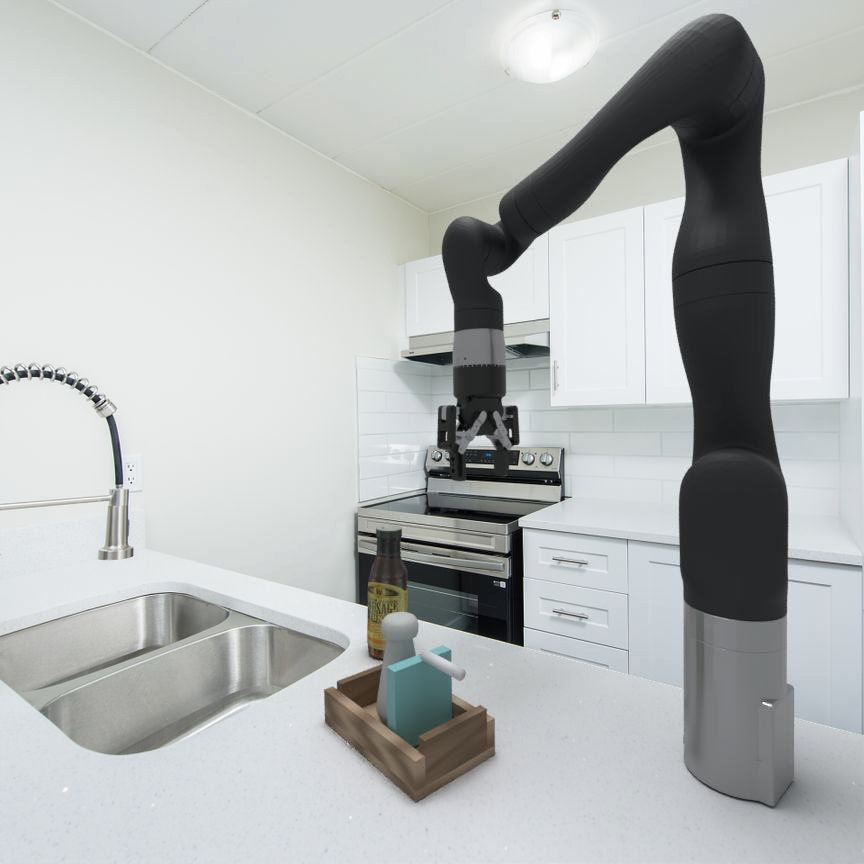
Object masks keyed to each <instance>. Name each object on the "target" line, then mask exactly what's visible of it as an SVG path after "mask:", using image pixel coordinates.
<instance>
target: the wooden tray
mask: <svg viewBox="0 0 864 864" xmlns="http://www.w3.org/2000/svg"><path fill="white" fill-rule="evenodd" d="M382 665H383V663H382V664H379V665H376V666H373V667H371V668H368V669H365V670H363V671H360V672H358V673H355V674H352V675H350V676H346V677H344V678H342V679H339V680H336V687H335V686H334V685H332V686H330V687H327V688H324V689H323V692H324V693H323V695H324V696H323V698H324V701H323V702H324V723H326V724H327V725H328V726H329V727H330V728H331V729H332V730H333V731H335V732H336V733H337V734H338V735H339V736H340V737H341V738H343V740H345V741H346V742H347V743H348V744H349V745H351V747H353V749H355V750H356V751H357V752H358V753H359V754H361V755H362V756H363V757H364V758H365V759H366V760H367V761H369V763H371V764H372V765H373V766H375V768H377V769H378V770H379V771H380V772H381V773H383V775H384V776H386V777H387V778H388V779H389V780H390V781H391V782H392V783H394V784H395V785H396V786H397V787H398V788H399V789H400V790H401V791H402V792H403V793H404V794H406V795H407V796H408V797H410V798H411V799H412V801H414V802H415V803H417V802H419V801H421V800H422V799H424V798H425V797H428V796H429V795H430V794H432V793H434V792H436V791H437V790H438V789H440V788H442V787H444V786H446V785H447V784H448V783H449V784H450V783H451V782H452V781H454V780H455V779H457V778H458V777H460V776H462V775H464V774H466V773H467V772H469V771H471V770H472V769H473V768H475V767H476V766H478V765H480V764H482V763H483V762H484V761H486V760H488V759H489V758H491V757H492V756H494V755H496V729H495V728H496V727H495V725H496V721H495V720H496V719H495V717H494V716H491V715H490V714H488V708H486V707H485V706H483V705H481V704H479V705H478V706H474V705H473V704H471V703H469V702H468V701H466V700H464V699H462V698H460V697H459V696H457V695H455V694H453V693H452V720H450V721H448V722H446V723H444V724H442V725H440V726H438V727H436V728H434V729H432V730H430V731H428V732H426V733H424V734H422V735H420V736H418V740H419V745H417V746H415V747H412V746H411V745H410V744H408V743H407V742H406V741H404V740H403V739H402V738H400V737H399V736H398V735H397V734H395V733H394V732H393V731H391V730H390V729H389V728H387V727H386V726H385V725H383V723H382V721H381V720H380V718H379V716H378V713H377V709H376V703H377V697H378V690H379V684H380V677H381V671H382Z"/></svg>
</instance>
